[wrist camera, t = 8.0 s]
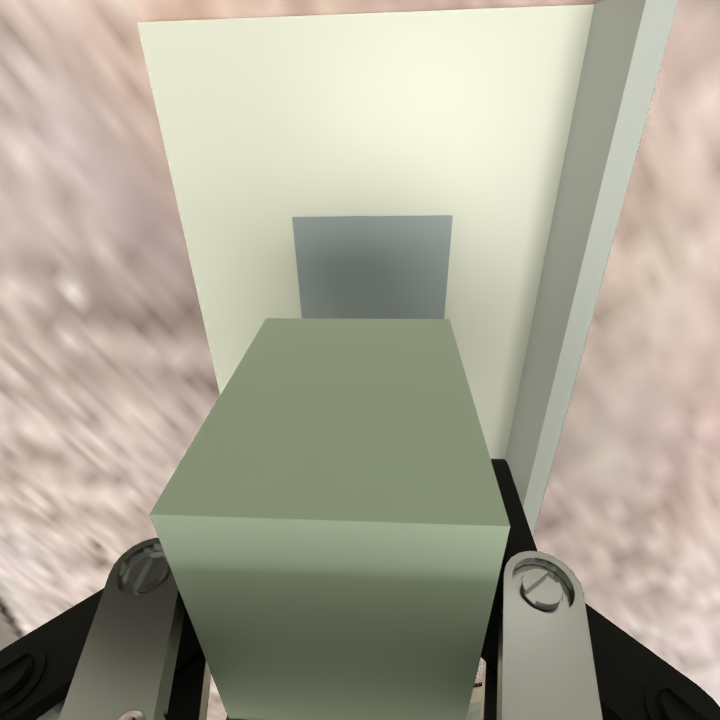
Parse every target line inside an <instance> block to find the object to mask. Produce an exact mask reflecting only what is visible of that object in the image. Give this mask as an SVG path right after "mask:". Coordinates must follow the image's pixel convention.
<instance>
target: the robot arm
mask: <svg viewBox="0 0 720 720" xmlns="http://www.w3.org/2000/svg"><path fill="white" fill-rule="evenodd" d="M491 462H492V466H493V469H494V473H495V476H496V479H497V483H498V486H499V490H500V493H501V496H502V500H503V503H504V507H505V510H506V513H507V517H508V520H509V524H510V530H509V534H508V539H507V543H506V548H505V552H504V556H503V561H502V565H501V569H500V574H499V578H498V582H497V587H496V591H495V596H494V600H493V604H492V609H491V613H490V617H489V622H488V626H487V630H486V635H485V639H484V644H483V648H482V652H481V658H482V659H483V678H482V686H479V687H474V688H473V692H472V696H471V700H470V705H469V709H468V713H467V718H466V720H720V707H719V706H718V705H717V703H716V702H715V701H714V700H713V698H712V697H710V696H709V695H708V694H707V693H706V692H705V691H704V690H702V689H701V688H700V687H699V686H698V685H697V684H695V683H694V682H692V681H691V680H690V679H688V678H687V677H686V676H684V675H683V674H682V673H680V672H679V671H677V670H676V669H675V668H673V667H672V666H671V665H669V664H668V663H666V662H665V661H664V660H662V659H661V658H660V657H658V656H657V655H656V654H654V653H653V652H651V651H650V650H649V649H647V648H646V647H645V646H643V645H642V644H640V643H639V642H638V641H636V640H635V639H634V638H632V637H631V636H630V635H628V634H627V633H625V632H624V631H623V630H621V629H620V628H619V627H617V626H616V625H614V624H613V623H612V622H610V621H609V620H608V619H606V618H605V617H603V616H602V615H601V614H599V613H598V612H597V611H595V610H594V609H593V608H591V607H590V606H588V605H587V604H586V603H585V599H584V593H583V590H582V587H581V584H580V582H579V580H578V579H577V577H576V576H575V574H574V573H573V571H571V570H570V569H569V568H568V567H567V566H566V565H565V564H564V563H563V562H561V561H560V560H558V559H556V558H555V557H553V556H551V555H548V554H545V553H542V552H537V549H536V546H535V543H534V540H533V537H532V534H531V531H530V528H529V525H528V522H527V519H526V516H525V513H524V510H523V507H522V504H521V501H520V498H519V495H518V492H517V489H516V486H515V483H514V480H513V477H512V474H511V471H510V468H509V465H508V463H507V461H506V460H505V459H491ZM210 680H211V671H210V669H209V666H208V663H207V661H206V658H205V656H204V653H203V651H202V648H201V645H200V643H199V640H198V638H197V635H196V633H195V630H194V627H193V625H192V622H191V620H190V617H189V615H188V612H187V609H186V607H185V604H184V602H183V599H182V597H181V594H180V591H179V589H178V586H177V584H176V581H175V579H174V576H173V573H172V571H171V568H170V566H169V563H168V561H167V558H166V555H165V553H164V550H163V548H162V545H161V543H160V540H159V538H153V539H149V540H146V541H143V542H141V543H139V544H137V545H135V546H133V547H132V548H130V549H129V550H128V551H127V552H125V553H124V554H123V555H122V556H121V557H120V558H119V559H118V560H117V562H116V563H115V564H114V566H113V568H112V570H111V572H110V574H109V576H108V579H107V582H106V585H105V588H103V589H102V590H100V591H98V592H97V593H95V594H94V595H92V596H90V597H89V598H87V599H85V600H84V601H82V602H80V603H79V604H77V605H75V606H74V607H72V608H70V609H69V610H67V611H65V612H64V613H62V614H60V615H59V616H57V617H55V618H54V619H52V620H50V621H49V622H47V623H45V624H44V625H42V626H40V627H39V628H37V629H35V630H34V631H32V632H30V633H29V634H27V635H25V636H24V637H22V638H20V639H19V640H17V641H15V642H14V643H12V644H10V645H9V646H7V647H6V648H4V649H3V650H1V651H0V720H206V718H207V708H208V699H209V689H210Z"/></svg>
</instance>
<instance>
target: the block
mask: <svg viewBox="0 0 720 720" xmlns="http://www.w3.org/2000/svg"><path fill="white" fill-rule="evenodd" d="M150 517H151V519H152V522H153V525H154V527H155V530H156V532H157V535H158V537H159V540H160V543H161V545H162V548H163V550H164V553H165V555H166V558H167V561H168V563H169V566H170V568H171V571H172V573H173V576H174V579H175V581H176V584H177V586H178V589H179V591H180V594H181V597H182V599H183V602H184V604H185V607H186V609H187V612H188V615H189V617H190V620H191V622H192V625H193V627H194V630H195V633H196V635H197V638H198V640H199V643H200V645H201V648H202V651H203V653H204V656H205V658H206V661H207V663H208V666H209V669H210V671H211V674H212V676H213V679H214V681H215V684H216V687H217V689H218V692H219V694H220V697H221V699H222V702H223V705H224V707H225V710H226V712H227V718H226V720H466V718H467V713H468V709H469V705H470V700H471V696H472V692H473V687H474V683H475V678H476V674H477V670H478V665H479V661H480V657H481V652H482V648H483V644H484V639H485V635H486V630H487V626H488V622H489V617H490V613H491V609H492V604H493V600H494V596H495V591H496V587H497V582H498V578H499V574H500V569H501V565H502V561H503V556H504V552H505V548H506V543H507V539H508V534H509V530H510V524H509V520H508V517H507V513H506V510H505V507H504V503H503V500H502V496H501V493H500V490H499V486H498V483H497V479H496V476H495V473H494V469H493V466H492V462H491V459H490V456H489V452H488V449H487V445H486V442H485V439H484V435H483V432H482V428H481V425H480V422H479V418H478V415H477V411H476V408H475V405H474V401H473V398H472V394H471V391H470V387H469V384H468V381H467V377H466V374H465V370H464V367H463V364H462V360H461V357H460V353H459V350H458V347H457V343H456V340H455V336H454V333H453V330H452V326H451V323H450V319H317V318H266V319H265V321H264V323H263V324H262V326H261V328H260V329H259V331H258V333H257V334H256V336H255V338H254V340H253V341H252V343H251V345H250V346H249V348H248V350H247V351H246V353H245V355H244V356H243V358H242V360H241V361H240V363H239V365H238V366H237V368H236V370H235V371H234V373H233V375H232V377H231V378H230V380H229V382H228V383H227V385H226V387H225V388H224V390H223V392H222V393H221V395H220V397H219V398H218V400H217V402H216V403H215V405H214V407H213V409H212V410H211V412H210V414H209V415H208V417H207V419H206V420H205V422H204V424H203V425H202V427H201V429H200V430H199V432H198V434H197V435H196V437H195V439H194V441H193V442H192V444H191V446H190V447H189V449H188V451H187V452H186V454H185V456H184V457H183V459H182V461H181V462H180V464H179V466H178V467H177V469H176V471H175V473H174V474H173V476H172V478H171V479H170V481H169V483H168V484H167V486H166V488H165V489H164V491H163V493H162V494H161V496H160V498H159V499H158V501H157V503H156V505H155V506H154V508H153V510H152V511H151V513H150Z"/></svg>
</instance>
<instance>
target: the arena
mask: <svg viewBox="0 0 720 720" xmlns="http://www.w3.org/2000/svg"><path fill="white" fill-rule="evenodd" d="M677 3H678V0H602V1H600V2H598V3H596V4H592V5H566V6H541V7H515V8H490V9H464V10H439V11H413V12H387V13H362V14H336V15H311V16H285V17H260V18H234V19H209V20H183V21H158V22H137V26H138V30H139V34H140V39H141V43H142V48H143V52H144V57H145V61H146V66H147V70H148V75H149V79H150V84H151V88H152V93H153V97H154V102H155V106H156V111H157V115H158V120H159V124H160V129H161V133H162V138H163V142H164V147H165V151H166V156H167V160H168V164H169V169H170V173H171V178H172V182H173V187H174V191H175V196H176V200H177V205H178V209H179V214H180V218H181V223H182V227H183V232H184V236H185V241H186V245H187V250H188V254H189V259H190V263H191V268H192V272H193V277H194V281H195V286H196V290H197V295H198V299H199V303H200V308H201V312H202V317H203V321H204V326H205V330H206V335H207V339H208V344H209V348H210V353H211V357H212V362H213V366H214V371H215V375H216V380H217V384H218V389H219V393H220V395H221V393H222V392H223V390H224V388H225V387H226V385H227V383H228V382H229V380H230V378H231V377H232V375H233V373H234V371H235V370H236V368H237V366H238V365H239V363H240V361H241V360H242V358H243V356H244V355H245V353H246V351H247V350H248V348H249V346H250V345H251V343H252V341H253V340H254V338H255V336H256V334H257V333H258V331H259V329H260V328H261V326H262V324H263V323H264V321H265V319H266V318H317V319H450V323H451V326H452V330H453V333H454V336H455V340H456V343H457V347H458V350H459V353H460V357H461V360H462V364H463V367H464V370H465V374H466V377H467V381H468V384H469V387H470V391H471V394H472V398H473V401H474V405H475V408H476V411H477V415H478V418H479V422H480V425H481V428H482V432H483V435H484V439H485V442H486V445H487V449H488V452H489V456H490V459H505V460H506V461H507V463H508V465H509V468H510V471H511V474H512V477H513V480H514V483H515V486H516V489H517V492H518V495H519V498H520V501H521V504H522V507H523V510H524V513H525V516H526V519H527V522H528V525H529V528H530V531H531V534H532V537H533V533H534V530H535V526H536V522H537V519H538V515H539V511H540V508H541V504H542V500H543V497H544V493H545V489H546V486H547V482H548V478H549V474H550V471H551V467H552V463H553V460H554V456H555V452H556V449H557V445H558V441H559V438H560V434H561V430H562V427H563V423H564V419H565V416H566V412H567V408H568V405H569V401H570V397H571V393H572V390H573V386H574V382H575V379H576V375H577V371H578V368H579V364H580V360H581V357H582V353H583V349H584V346H585V342H586V338H587V335H588V331H589V327H590V324H591V320H592V316H593V312H594V309H595V305H596V301H597V298H598V294H599V290H600V287H601V283H602V279H603V276H604V272H605V268H606V265H607V261H608V257H609V254H610V250H611V246H612V243H613V239H614V235H615V232H616V228H617V224H618V220H619V217H620V213H621V209H622V206H623V202H624V198H625V195H626V191H627V187H628V184H629V180H630V176H631V173H632V169H633V165H634V162H635V158H636V154H637V151H638V147H639V143H640V139H641V136H642V132H643V128H644V125H645V121H646V117H647V114H648V110H649V106H650V103H651V99H652V95H653V92H654V88H655V84H656V81H657V77H658V73H659V70H660V66H661V62H662V58H663V55H664V51H665V47H666V44H667V40H668V36H669V33H670V29H671V25H672V22H673V18H674V14H675V11H676V7H677Z"/></svg>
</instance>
